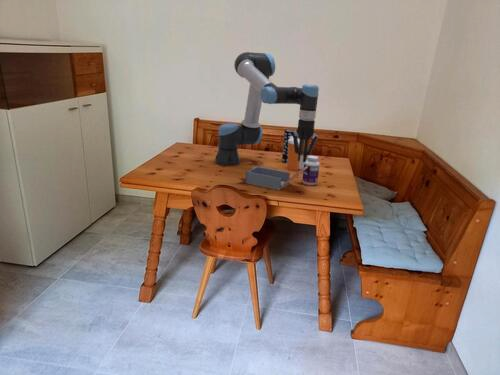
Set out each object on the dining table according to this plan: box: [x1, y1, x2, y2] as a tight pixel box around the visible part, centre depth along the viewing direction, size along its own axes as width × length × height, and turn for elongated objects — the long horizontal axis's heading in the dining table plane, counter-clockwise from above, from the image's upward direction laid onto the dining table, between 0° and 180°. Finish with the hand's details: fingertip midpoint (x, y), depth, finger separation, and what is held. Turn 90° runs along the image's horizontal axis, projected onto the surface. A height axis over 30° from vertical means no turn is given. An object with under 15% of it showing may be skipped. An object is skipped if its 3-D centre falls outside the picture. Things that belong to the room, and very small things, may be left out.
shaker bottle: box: [286, 135, 300, 171], centre depth 206 cm, size 9×9×20 cm
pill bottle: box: [301, 155, 321, 186], centre depth 182 cm, size 8×8×14 cm
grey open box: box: [245, 165, 291, 191], centre depth 180 cm, size 19×13×6 cm
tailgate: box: [280, 166, 308, 189], centre depth 173 cm, size 1×14×12 cm
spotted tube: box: [281, 129, 298, 164], centre depth 220 cm, size 8×8×20 cm
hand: (301, 168), depth 170 cm, fingers closed
